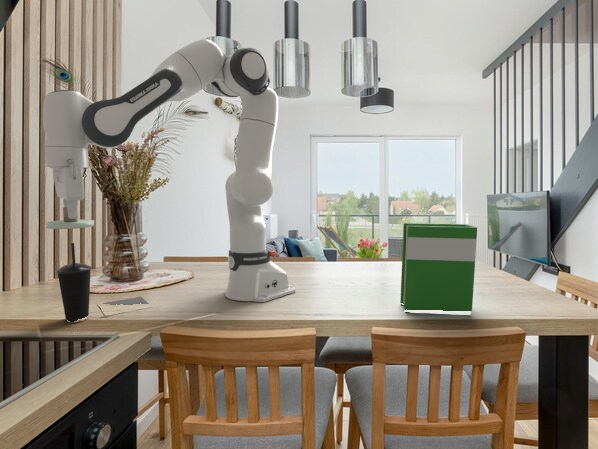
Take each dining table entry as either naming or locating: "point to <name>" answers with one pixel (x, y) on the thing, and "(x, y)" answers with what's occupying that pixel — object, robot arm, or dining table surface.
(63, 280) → the drinking cup
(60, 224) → the lid
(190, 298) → the dining table surface
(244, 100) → the robot arm
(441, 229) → the hardback book
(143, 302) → the mat
